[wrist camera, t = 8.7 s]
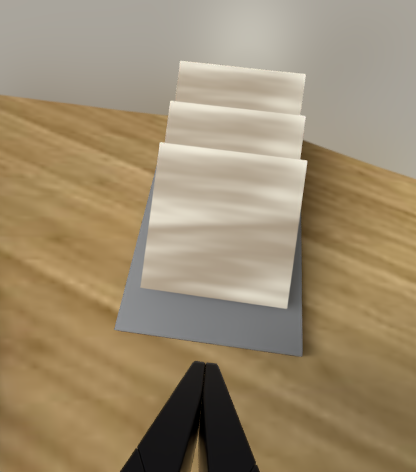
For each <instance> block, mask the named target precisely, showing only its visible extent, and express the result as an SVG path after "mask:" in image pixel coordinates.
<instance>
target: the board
mask: <svg viewBox="0 0 416 472" xmlns="http://www.w3.org/2000/svg"><path fill="white" fill-rule="evenodd" d="M156 168H157V167H156ZM155 175H156V170H155V174H154V178H153V182H152V186H151V190H150V194H149V197H148V201H147V205H146V209H145V213H144V217H143V221H142V224H141V228H140V232H139V236H138V240H137V244H136V248H135V251H134V255H133V259H132V263H131V267H130V271H129V275H128V278H127V282H126V286H125V290H124V294H123V298H122V302H121V305H120V309H119V313H118V317H117V321H116V325H115V329H114V330H118V331H124V332H131V333H138V334H145V335H152V336H159V337H166V338H173V339H180V340H187V341H194V342H201V343H208V344H215V345H222V346H229V347H236V348H243V349H250V350H257V351H264V352H271V353H278V354H285V355H292V356H301V357H302V257H301V211H300V218H299V225H298V233H297V240H296V247H295V255H294V262H293V269H292V276H291V284H290V291H289V298H288V305H287V309H284V308H277V307H270V306H263V305H256V304H249V303H242V302H236V301H229V300H222V299H215V298H208V297H201V296H194V295H187V294H181V293H174V292H167V291H160V290H153V289H146V288H140V286H141V279H142V272H143V264H144V257H145V249H146V242H147V235H148V227H149V220H150V212H151V205H152V198H153V190H154V183H155Z"/></svg>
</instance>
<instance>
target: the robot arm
mask: <svg viewBox="0 0 416 472" xmlns="http://www.w3.org/2000/svg"><path fill="white" fill-rule="evenodd" d="M204 374H205V375H204ZM202 393H203V394H202ZM201 403H202V404H201ZM200 413H201V414H200ZM199 423H200V424H199ZM198 431H199V442H198V458H199V472H260V471H259V468H258V466H257V465H256V461H255V459H254V456H253V453H252V451H251V448H250V446H249V443H248V441H247V438H246V436H245V433H244V430H243V428H242V425H241V423H240V420H239V418H238V415H237V412H236V410H235V407H234V405H233V402H232V400H231V397H230V395H229V392H228V389H227V387H226V384H225V382H224V379H223V377H222V374H221V372H220V369H219V366H218V365H217V364H215V363H206V365H205V363H204V362H199V361H194V362H193V363H192V365H191V366H190V368H189V369H188V371H187V372H186V374H185V375H184V377H183V378H182V380H181V381H180V383H179V384H178V386H177V387H176V389H175V390H174V392H173V393H172V395H171V396H170V398H169V399H168V401H167V402H166V404H165V405H164V407H163V408H162V410H161V411H160V413H159V414H158V416H157V417H156V419H155V420H154V422H153V423H152V425H151V426H150V428H149V429H148V431H147V432H146V434H145V435H144V437H143V438H142V440H141V441H140V443H139V444H138V446H137V448H136V449H135V450H134V452H133V453H132V455H131V456H130V458H129V459H128V461H127V462H126V464H125V465H124V466H123V468H122V469H121V471H120V472H190V471H191V467H192V462H193V457H194V452H195V448H196V443H197V437H198Z"/></svg>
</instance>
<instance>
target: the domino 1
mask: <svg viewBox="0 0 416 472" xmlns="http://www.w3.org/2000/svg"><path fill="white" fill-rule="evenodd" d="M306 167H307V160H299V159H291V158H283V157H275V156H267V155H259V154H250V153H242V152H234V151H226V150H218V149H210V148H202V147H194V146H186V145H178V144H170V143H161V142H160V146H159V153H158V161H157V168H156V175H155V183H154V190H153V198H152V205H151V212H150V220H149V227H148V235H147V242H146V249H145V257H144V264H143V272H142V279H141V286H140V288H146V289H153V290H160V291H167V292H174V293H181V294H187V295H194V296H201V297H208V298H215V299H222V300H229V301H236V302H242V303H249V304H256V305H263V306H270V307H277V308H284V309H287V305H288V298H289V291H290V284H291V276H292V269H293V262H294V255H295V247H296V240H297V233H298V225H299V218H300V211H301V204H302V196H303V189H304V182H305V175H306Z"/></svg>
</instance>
